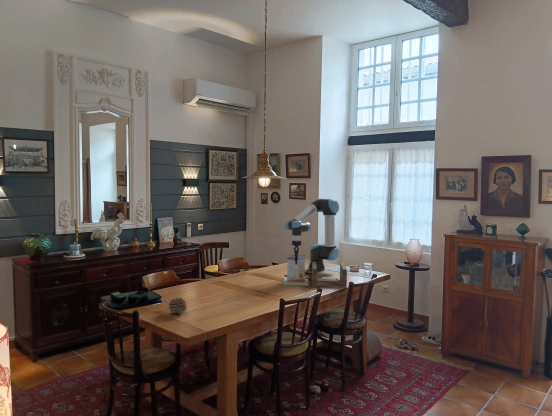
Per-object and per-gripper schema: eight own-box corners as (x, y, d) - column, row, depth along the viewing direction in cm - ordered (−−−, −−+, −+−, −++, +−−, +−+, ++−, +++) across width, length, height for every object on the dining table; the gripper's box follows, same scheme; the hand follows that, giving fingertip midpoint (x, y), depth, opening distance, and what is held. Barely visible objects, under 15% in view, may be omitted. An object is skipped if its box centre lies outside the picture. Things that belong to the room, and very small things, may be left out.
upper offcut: (323, 279, 345) (323, 276, 345) (337, 281, 340) (337, 278, 340) (320, 281, 340) (320, 278, 340) (335, 283, 335) (335, 280, 335)
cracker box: (304, 280, 350) (305, 254, 348) (304, 281, 344) (305, 255, 342) (287, 279, 351) (287, 254, 349) (287, 281, 345) (287, 255, 343)
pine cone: (191, 314, 263) (191, 298, 262) (178, 317, 256) (178, 301, 255) (170, 306, 278) (169, 291, 277) (157, 310, 270) (157, 294, 269)
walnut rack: (311, 278, 357) (312, 261, 356) (343, 279, 355) (343, 262, 354) (312, 286, 331) (312, 268, 330) (346, 287, 330) (347, 269, 328)
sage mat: (284, 277, 359) (284, 276, 359) (308, 278, 358) (308, 277, 358) (282, 284, 336) (282, 284, 335) (308, 285, 334) (308, 284, 334)
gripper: (292, 237, 357) (291, 263, 359) (291, 242, 332) (291, 269, 334) (301, 238, 356) (301, 263, 358) (301, 242, 332) (300, 270, 333)
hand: (296, 266), depth 346 cm, fingers open, 13 cm apart
